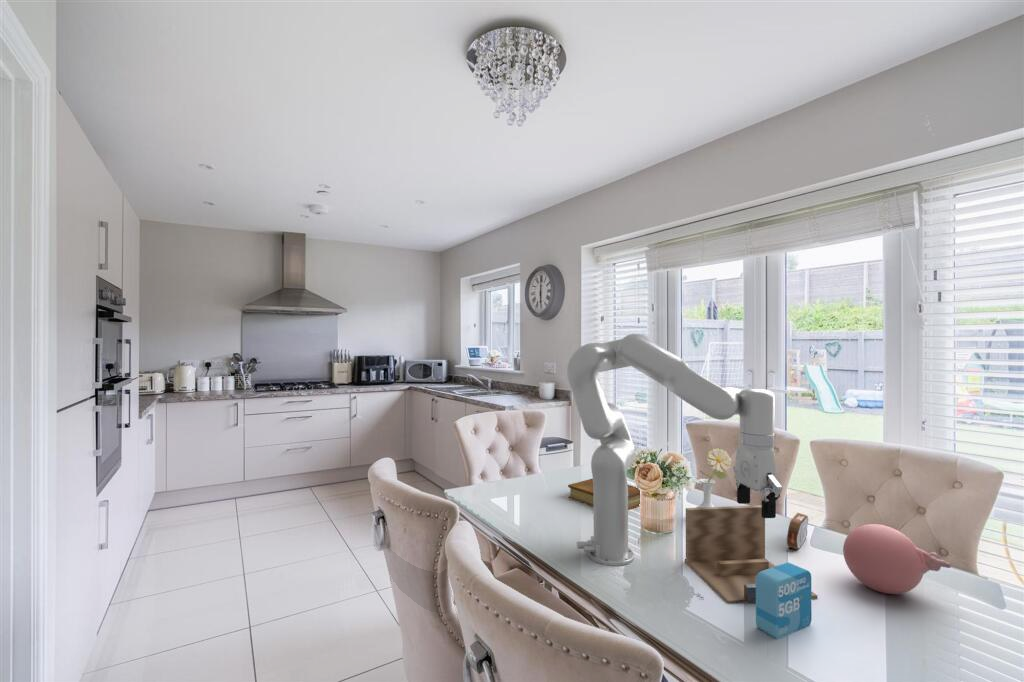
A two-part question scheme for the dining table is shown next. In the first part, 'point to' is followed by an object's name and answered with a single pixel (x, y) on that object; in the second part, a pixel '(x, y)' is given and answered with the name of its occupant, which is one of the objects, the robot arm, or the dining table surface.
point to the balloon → (887, 559)
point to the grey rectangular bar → (750, 592)
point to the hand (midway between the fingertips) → (755, 510)
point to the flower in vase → (719, 463)
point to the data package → (783, 599)
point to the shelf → (727, 548)
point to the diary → (585, 493)
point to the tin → (797, 531)
